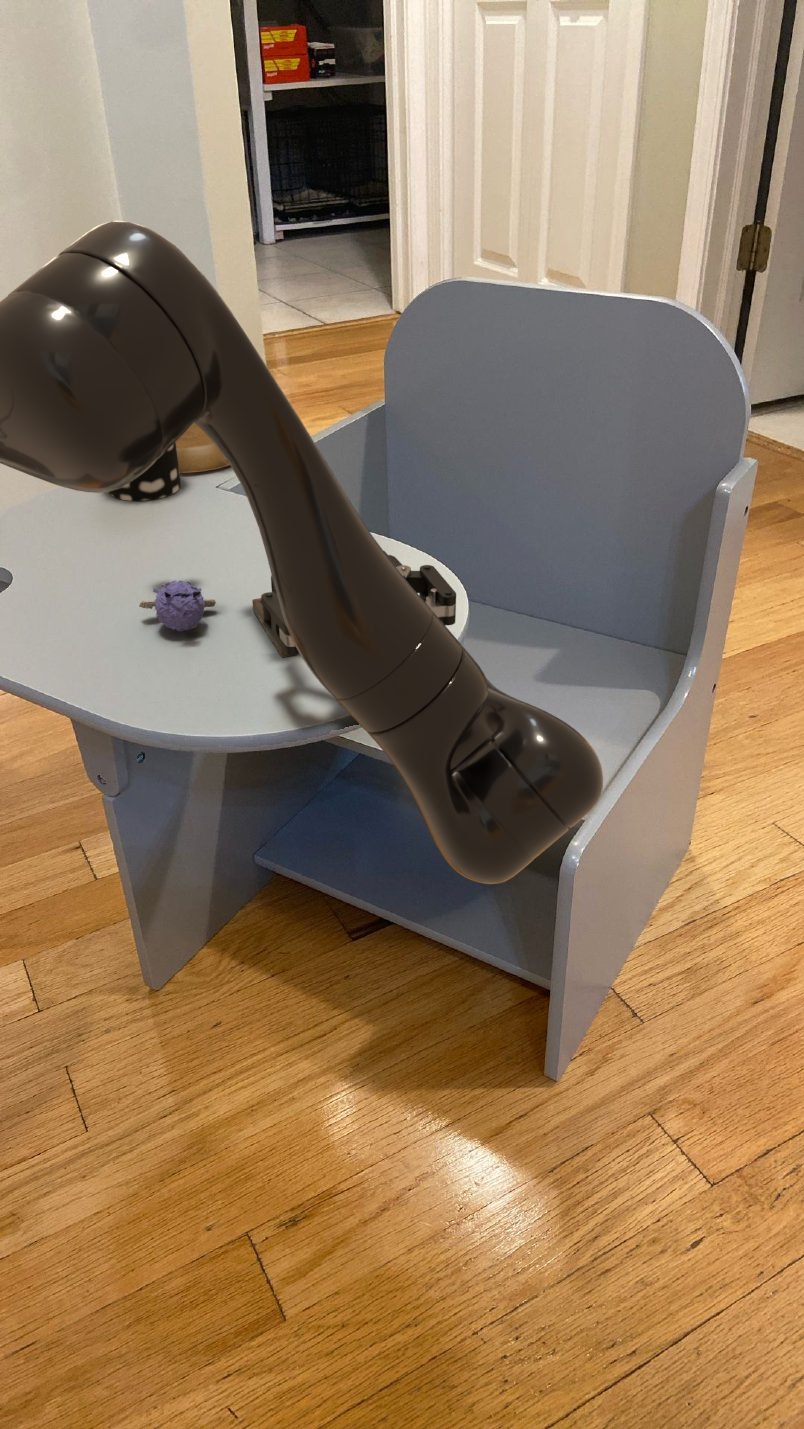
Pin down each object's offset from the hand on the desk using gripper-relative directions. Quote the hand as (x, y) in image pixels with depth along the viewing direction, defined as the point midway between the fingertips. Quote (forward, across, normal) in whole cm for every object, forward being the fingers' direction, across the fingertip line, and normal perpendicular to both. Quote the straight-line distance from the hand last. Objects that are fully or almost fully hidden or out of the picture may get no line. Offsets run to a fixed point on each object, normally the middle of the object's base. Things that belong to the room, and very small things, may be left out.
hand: (329, 569), depth 85 cm
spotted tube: (+44, +8, +8) cm, 45 cm away
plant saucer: (+53, +1, +5) cm, 54 cm away
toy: (+13, +11, +8) cm, 19 cm away
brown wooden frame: (+5, 0, +7) cm, 9 cm away
